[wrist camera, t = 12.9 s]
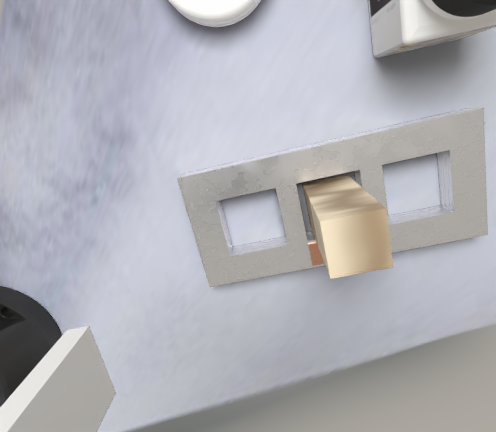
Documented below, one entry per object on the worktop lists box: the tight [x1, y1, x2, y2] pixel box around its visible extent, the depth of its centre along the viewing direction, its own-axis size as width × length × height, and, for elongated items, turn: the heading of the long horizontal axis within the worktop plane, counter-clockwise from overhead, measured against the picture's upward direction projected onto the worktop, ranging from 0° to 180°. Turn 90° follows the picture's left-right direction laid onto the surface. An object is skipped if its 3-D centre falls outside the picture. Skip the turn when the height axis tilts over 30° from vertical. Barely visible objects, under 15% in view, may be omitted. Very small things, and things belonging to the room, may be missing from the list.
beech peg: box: [303, 175, 393, 279], centre depth 30 cm, size 4×4×12 cm
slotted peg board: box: [177, 108, 488, 287], centre depth 34 cm, size 28×12×3 cm, turn 103°
